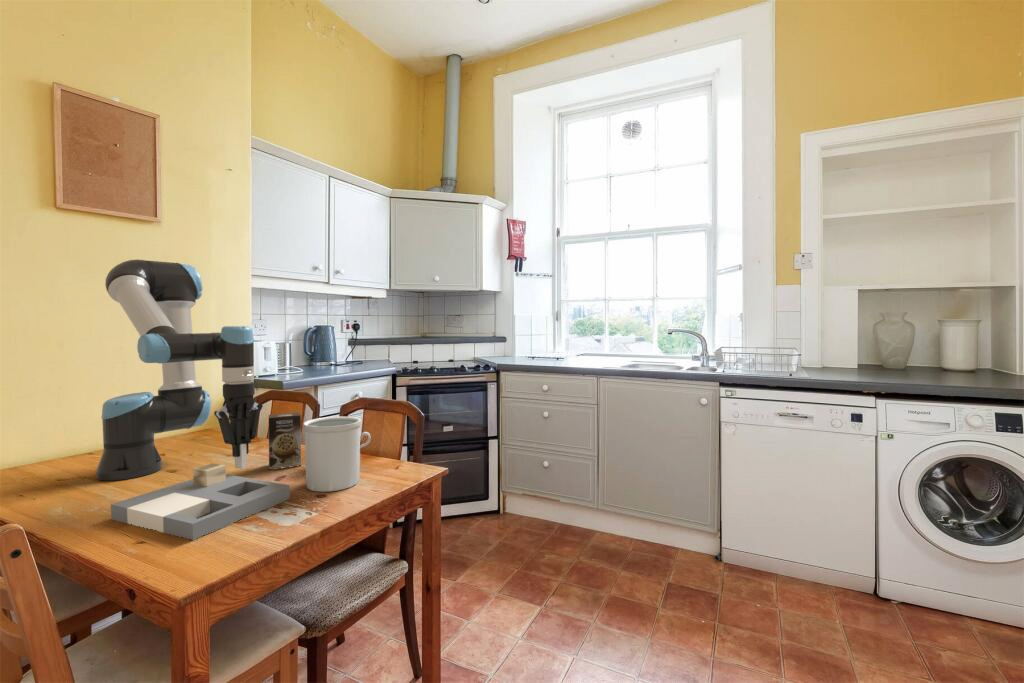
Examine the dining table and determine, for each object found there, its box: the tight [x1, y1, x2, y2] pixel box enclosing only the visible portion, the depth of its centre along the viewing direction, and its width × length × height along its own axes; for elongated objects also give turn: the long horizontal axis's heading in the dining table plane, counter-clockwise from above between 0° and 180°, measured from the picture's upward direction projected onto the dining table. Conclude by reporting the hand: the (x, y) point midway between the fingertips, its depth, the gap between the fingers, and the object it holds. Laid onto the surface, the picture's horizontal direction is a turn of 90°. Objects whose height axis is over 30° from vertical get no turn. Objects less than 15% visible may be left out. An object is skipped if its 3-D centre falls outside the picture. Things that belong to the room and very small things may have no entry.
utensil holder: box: [302, 416, 362, 493], centre depth 126 cm, size 15×15×18 cm
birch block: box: [192, 463, 227, 487], centre depth 117 cm, size 5×5×4 cm
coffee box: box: [268, 412, 302, 470], centre depth 143 cm, size 9×6×16 cm
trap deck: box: [110, 473, 291, 541], centre depth 109 cm, size 28×24×4 cm
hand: (241, 467), depth 126 cm, fingers closed
